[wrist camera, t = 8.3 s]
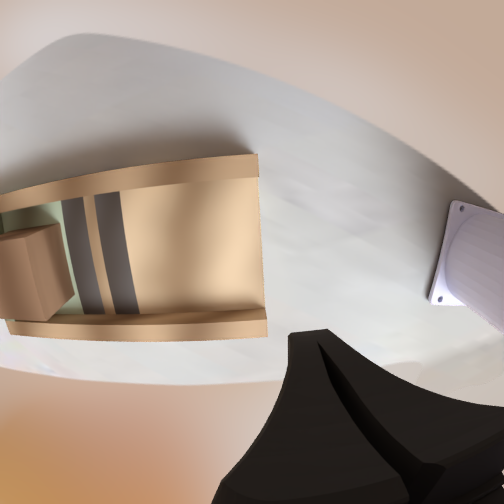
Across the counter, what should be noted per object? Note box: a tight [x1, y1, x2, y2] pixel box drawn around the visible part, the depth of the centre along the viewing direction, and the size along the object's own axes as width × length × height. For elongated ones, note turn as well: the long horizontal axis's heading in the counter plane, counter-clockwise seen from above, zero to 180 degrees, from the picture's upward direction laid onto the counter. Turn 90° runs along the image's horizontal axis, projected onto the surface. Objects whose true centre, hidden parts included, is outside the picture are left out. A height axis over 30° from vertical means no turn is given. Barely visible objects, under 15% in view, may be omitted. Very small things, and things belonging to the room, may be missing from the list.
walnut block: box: [0, 223, 75, 321], centre depth 16 cm, size 5×5×4 cm
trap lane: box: [0, 154, 268, 342], centre depth 18 cm, size 20×10×2 cm, turn 94°
